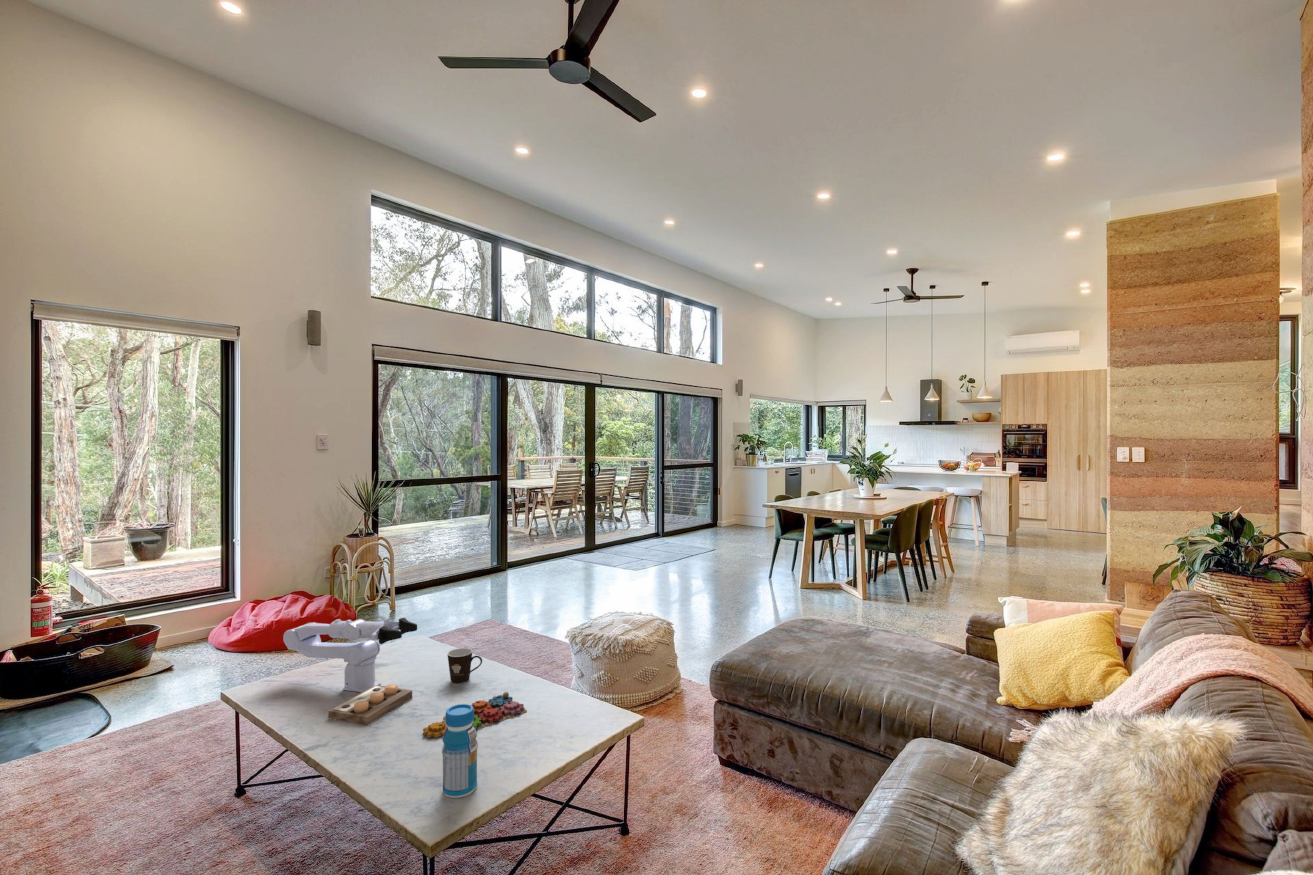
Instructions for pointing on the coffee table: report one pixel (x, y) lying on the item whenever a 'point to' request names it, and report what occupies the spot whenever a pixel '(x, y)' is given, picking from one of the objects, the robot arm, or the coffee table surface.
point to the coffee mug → (461, 664)
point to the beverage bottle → (459, 752)
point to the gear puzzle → (483, 714)
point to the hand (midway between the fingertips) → (408, 630)
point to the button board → (375, 710)
